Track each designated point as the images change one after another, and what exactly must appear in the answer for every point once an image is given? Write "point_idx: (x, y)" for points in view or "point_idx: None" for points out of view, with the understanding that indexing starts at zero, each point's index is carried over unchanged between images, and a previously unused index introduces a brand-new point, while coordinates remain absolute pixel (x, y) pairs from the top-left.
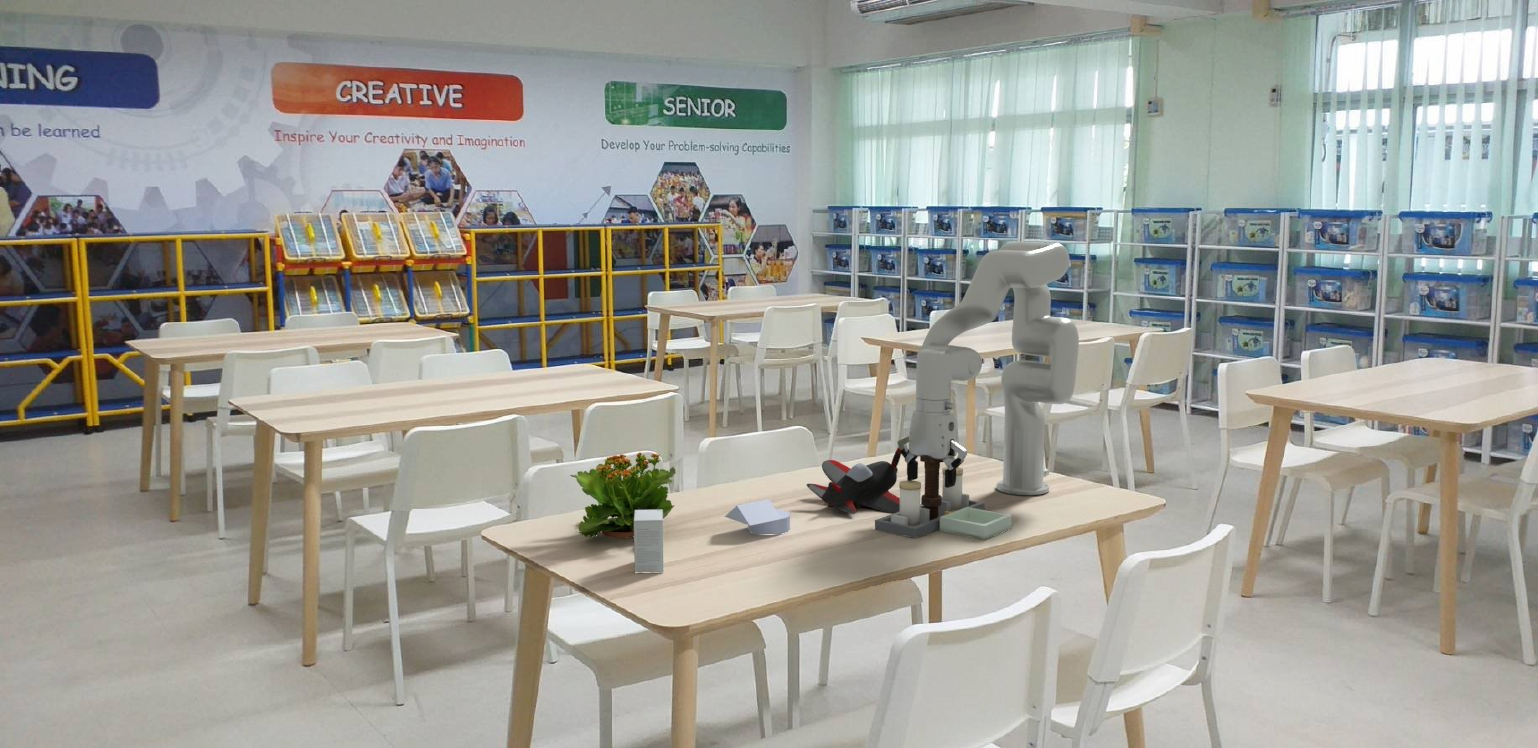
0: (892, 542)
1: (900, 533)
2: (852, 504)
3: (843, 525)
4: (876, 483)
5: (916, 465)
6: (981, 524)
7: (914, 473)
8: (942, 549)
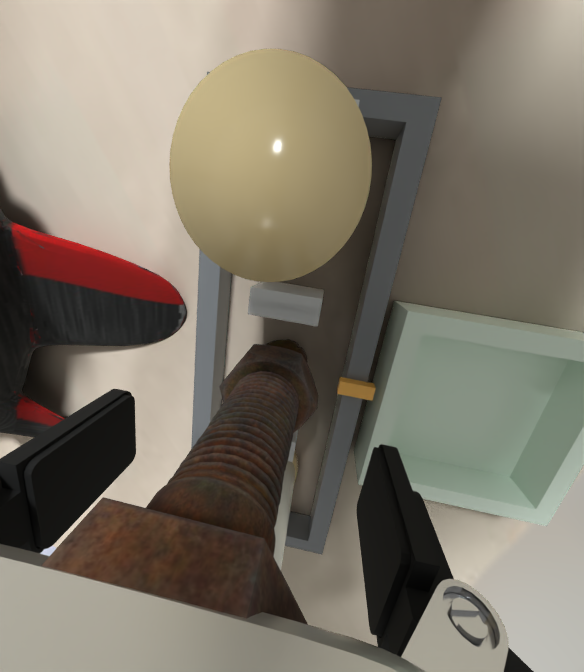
0: (288, 567)
1: None
2: (39, 412)
3: (122, 496)
4: None
5: (59, 466)
6: (529, 514)
7: (108, 446)
8: None
